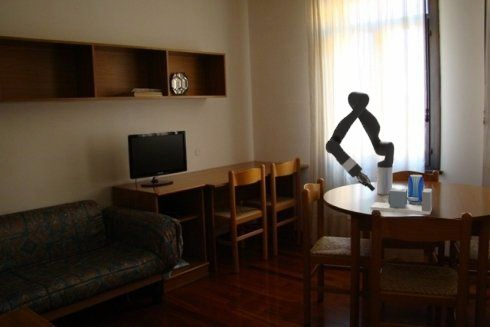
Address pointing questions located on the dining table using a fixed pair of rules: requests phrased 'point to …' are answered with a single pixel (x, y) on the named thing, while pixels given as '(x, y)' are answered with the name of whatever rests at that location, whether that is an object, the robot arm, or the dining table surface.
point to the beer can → (415, 188)
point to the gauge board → (422, 209)
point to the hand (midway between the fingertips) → (373, 190)
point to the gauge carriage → (399, 198)
